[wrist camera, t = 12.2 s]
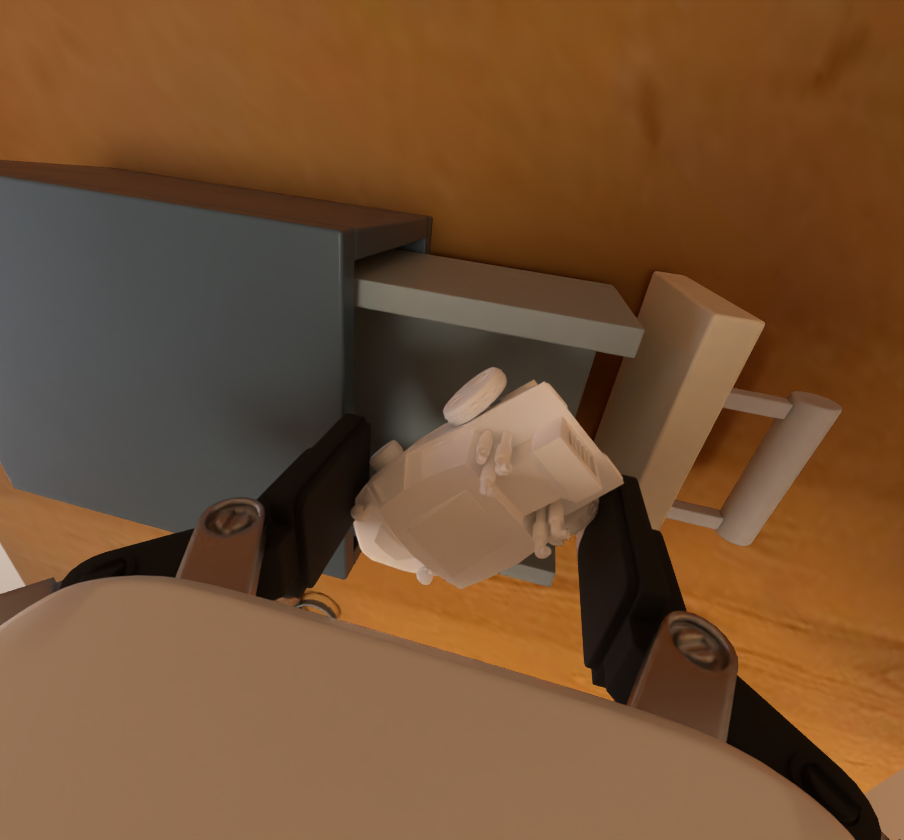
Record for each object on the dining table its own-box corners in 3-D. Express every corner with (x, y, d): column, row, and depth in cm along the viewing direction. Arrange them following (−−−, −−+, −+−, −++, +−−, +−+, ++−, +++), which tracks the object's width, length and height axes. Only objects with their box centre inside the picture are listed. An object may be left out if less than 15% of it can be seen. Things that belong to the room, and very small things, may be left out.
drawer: (827, 298, 15) (1007, 362, 9) (695, 527, 20) (752, 659, 15) (327, 218, 17) (211, 228, 11) (333, 443, 23) (258, 527, 17)
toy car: (633, 461, 12) (669, 577, 8) (434, 559, 15) (398, 668, 12) (533, 331, 11) (522, 398, 7) (344, 469, 14) (273, 560, 11)
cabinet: (432, 216, 17) (341, 230, 10) (411, 460, 23) (345, 581, 16) (111, 167, 19) (-168, 148, 12) (170, 404, 25) (13, 489, 18)
